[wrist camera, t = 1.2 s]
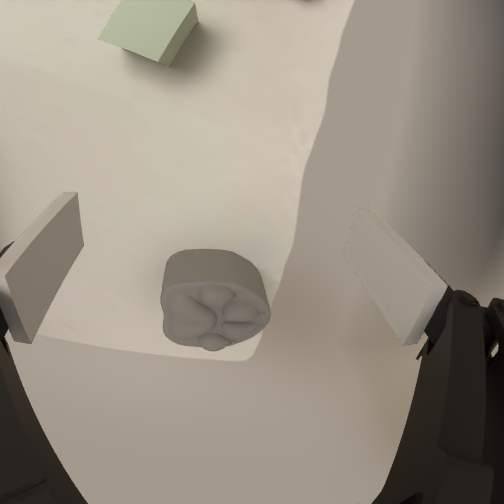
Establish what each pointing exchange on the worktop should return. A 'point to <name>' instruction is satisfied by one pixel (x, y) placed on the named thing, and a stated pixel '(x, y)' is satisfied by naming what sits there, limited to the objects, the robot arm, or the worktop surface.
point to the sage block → (151, 27)
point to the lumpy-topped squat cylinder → (212, 299)
